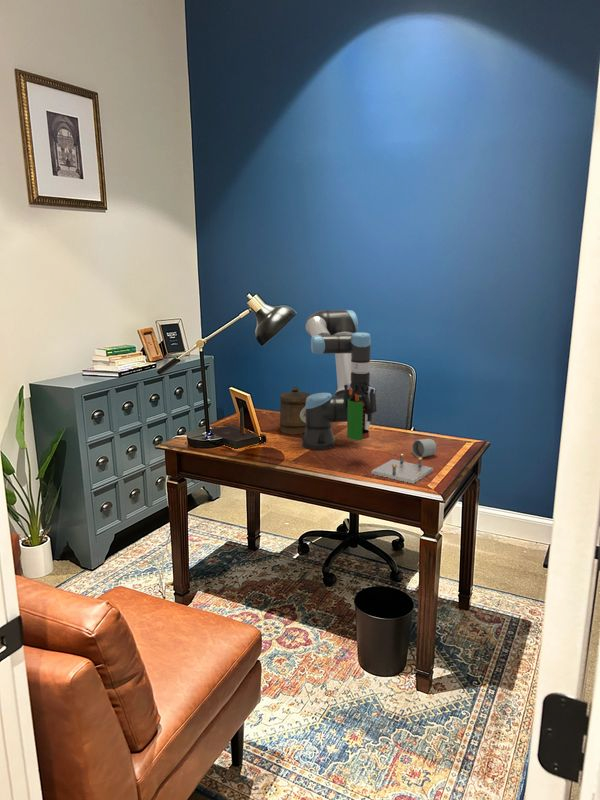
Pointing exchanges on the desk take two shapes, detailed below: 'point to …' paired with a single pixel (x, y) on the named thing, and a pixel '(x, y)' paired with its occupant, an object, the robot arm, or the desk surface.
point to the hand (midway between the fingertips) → (359, 427)
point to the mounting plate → (403, 470)
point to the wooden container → (293, 411)
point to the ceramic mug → (424, 447)
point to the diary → (237, 436)
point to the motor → (356, 418)
